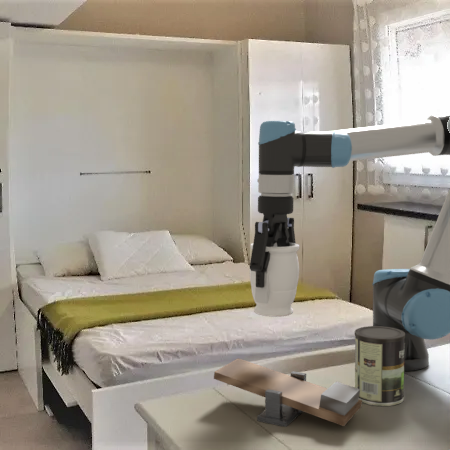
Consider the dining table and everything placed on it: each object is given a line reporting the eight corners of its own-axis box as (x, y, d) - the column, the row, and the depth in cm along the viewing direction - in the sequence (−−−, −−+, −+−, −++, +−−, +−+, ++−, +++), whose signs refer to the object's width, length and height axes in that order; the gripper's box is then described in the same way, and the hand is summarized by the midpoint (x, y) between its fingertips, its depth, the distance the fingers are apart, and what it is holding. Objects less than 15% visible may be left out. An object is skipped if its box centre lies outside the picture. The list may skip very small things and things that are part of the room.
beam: (213, 378, 132) (216, 360, 131) (237, 364, 140) (239, 347, 140) (343, 426, 119) (347, 406, 118) (361, 407, 127) (364, 388, 126)
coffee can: (402, 389, 141) (403, 326, 139) (405, 408, 131) (407, 340, 129) (354, 387, 143) (354, 324, 141) (353, 404, 133) (354, 337, 131)
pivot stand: (257, 420, 125) (257, 390, 125) (287, 396, 137) (287, 369, 137) (285, 426, 122) (285, 396, 122) (313, 401, 134) (313, 373, 134)
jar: (290, 306, 146) (291, 240, 144) (304, 317, 136) (306, 246, 134) (244, 308, 144) (245, 241, 142) (255, 319, 134) (256, 247, 132)
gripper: (283, 191, 149) (281, 286, 151) (233, 196, 129) (231, 305, 132) (314, 193, 145) (311, 290, 147) (266, 198, 126) (264, 310, 128)
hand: (273, 297), depth 140 cm, fingers closed on jar, 10 cm apart
